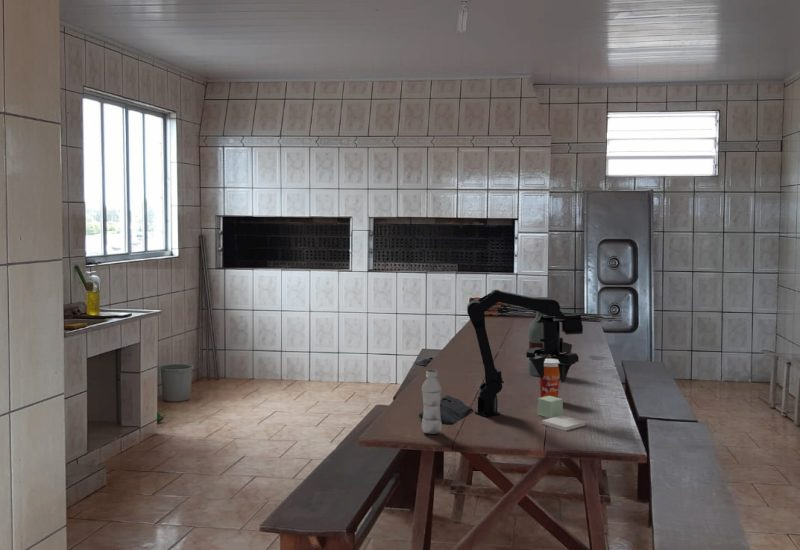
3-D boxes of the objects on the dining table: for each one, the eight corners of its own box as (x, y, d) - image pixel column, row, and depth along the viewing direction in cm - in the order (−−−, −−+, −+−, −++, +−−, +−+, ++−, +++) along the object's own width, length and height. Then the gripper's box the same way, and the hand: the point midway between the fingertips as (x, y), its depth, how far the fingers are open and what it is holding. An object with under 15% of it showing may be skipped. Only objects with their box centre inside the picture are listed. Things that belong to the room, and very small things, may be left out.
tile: (565, 430, 261) (565, 427, 260) (541, 423, 268) (541, 420, 268) (585, 425, 267) (585, 421, 267) (561, 418, 275) (561, 415, 274)
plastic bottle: (440, 430, 261) (441, 368, 259) (442, 436, 254) (443, 373, 252) (420, 430, 261) (421, 368, 259) (422, 436, 254) (422, 373, 252)
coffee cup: (543, 404, 293) (544, 363, 291) (533, 399, 301) (534, 359, 299) (564, 403, 295) (565, 362, 294) (554, 397, 303) (555, 357, 301)
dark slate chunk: (410, 421, 273) (410, 407, 272) (435, 406, 293) (435, 393, 292) (453, 426, 267) (453, 412, 266) (475, 410, 287) (475, 397, 286)
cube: (550, 419, 274) (551, 401, 274) (537, 415, 279) (537, 398, 278) (562, 416, 278) (562, 399, 277) (548, 412, 283) (549, 395, 282)
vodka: (553, 373, 343) (554, 302, 340) (545, 377, 336) (546, 305, 333) (532, 370, 348) (533, 301, 345) (523, 374, 341) (525, 303, 338)
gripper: (588, 334, 274) (589, 380, 275) (546, 329, 289) (547, 372, 290) (566, 339, 267) (568, 386, 269) (524, 333, 282) (525, 377, 283)
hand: (552, 380), depth 278 cm, fingers open, 9 cm apart
